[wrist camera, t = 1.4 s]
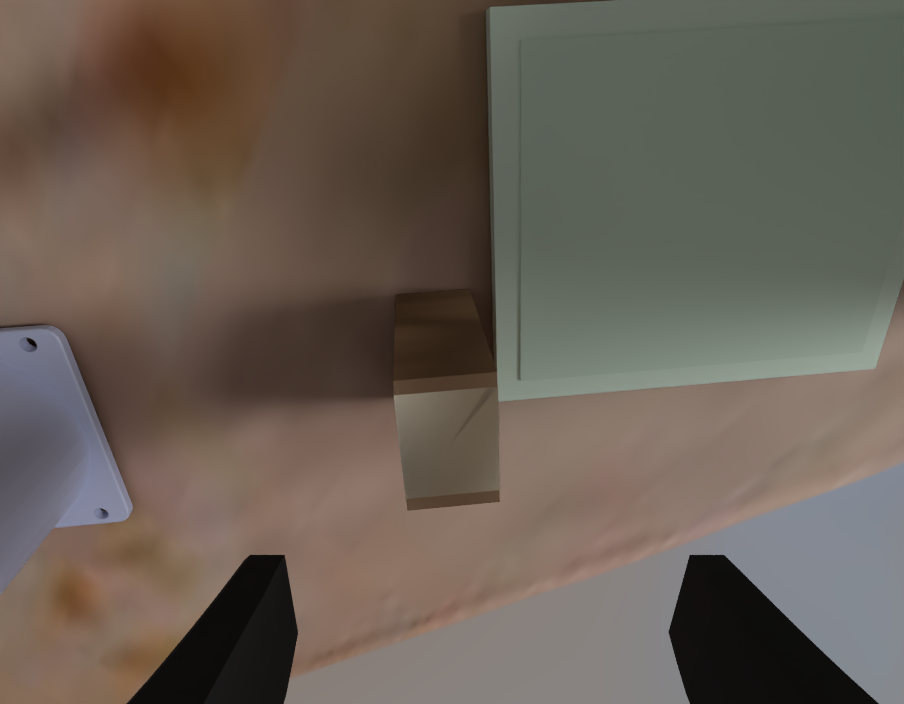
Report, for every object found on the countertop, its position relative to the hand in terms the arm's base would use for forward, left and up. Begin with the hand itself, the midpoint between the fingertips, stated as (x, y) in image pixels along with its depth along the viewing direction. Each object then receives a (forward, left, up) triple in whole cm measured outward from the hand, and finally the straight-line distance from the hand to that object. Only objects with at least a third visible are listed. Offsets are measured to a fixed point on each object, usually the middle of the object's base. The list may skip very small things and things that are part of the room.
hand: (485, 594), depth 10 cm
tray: (+9, +4, -11) cm, 14 cm away
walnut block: (0, 0, -11) cm, 11 cm away
